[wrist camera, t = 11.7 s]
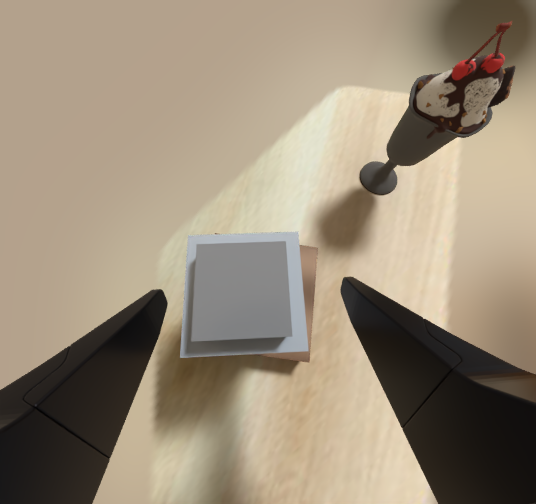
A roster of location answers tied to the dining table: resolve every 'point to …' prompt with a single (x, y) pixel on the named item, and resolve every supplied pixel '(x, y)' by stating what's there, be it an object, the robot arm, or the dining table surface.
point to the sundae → (443, 113)
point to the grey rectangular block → (243, 295)
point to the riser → (308, 278)
